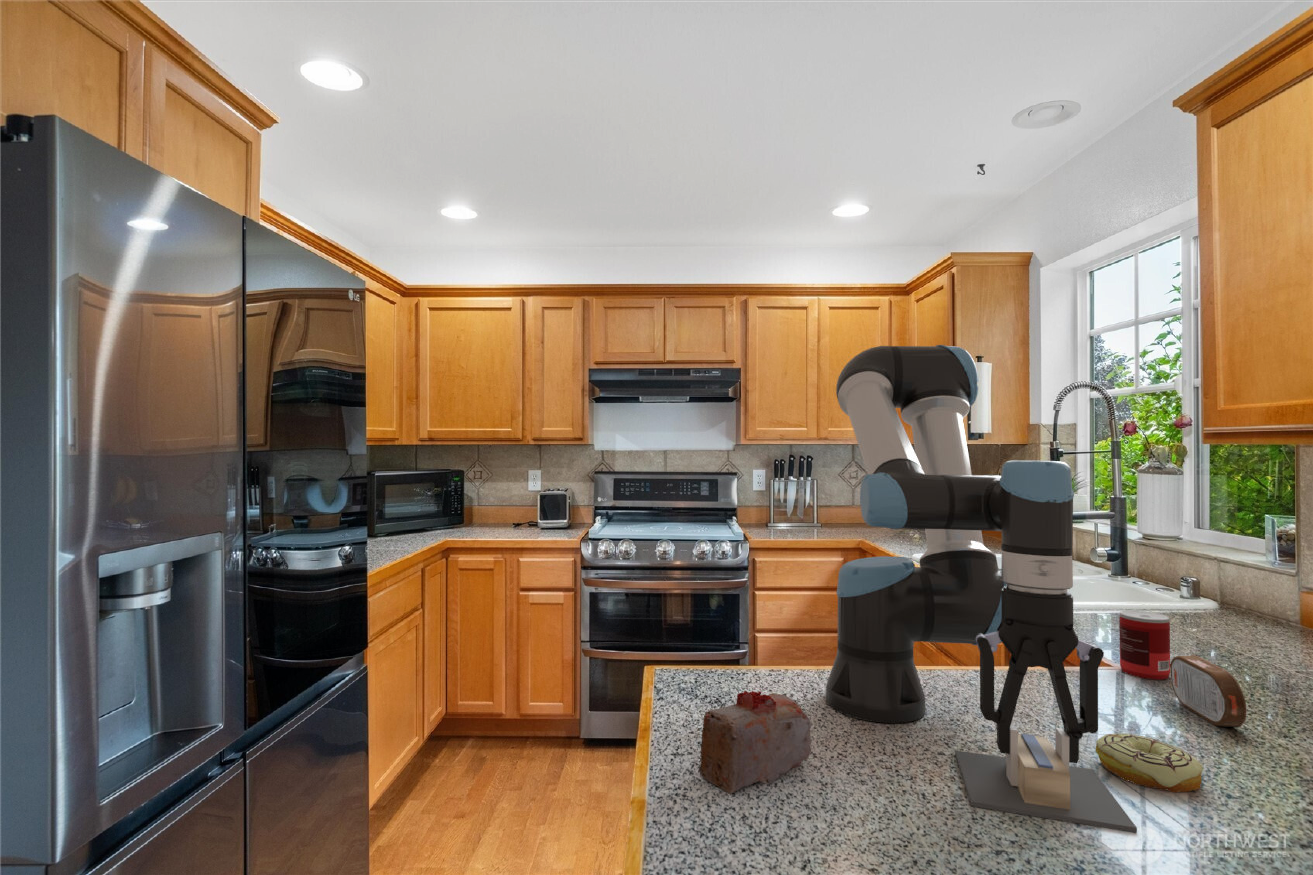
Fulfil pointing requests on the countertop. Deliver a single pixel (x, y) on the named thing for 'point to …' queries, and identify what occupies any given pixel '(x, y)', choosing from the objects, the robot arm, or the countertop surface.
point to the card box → (1042, 773)
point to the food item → (753, 740)
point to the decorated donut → (1149, 762)
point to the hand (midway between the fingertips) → (1037, 784)
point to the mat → (997, 793)
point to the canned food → (1144, 644)
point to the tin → (1208, 691)
